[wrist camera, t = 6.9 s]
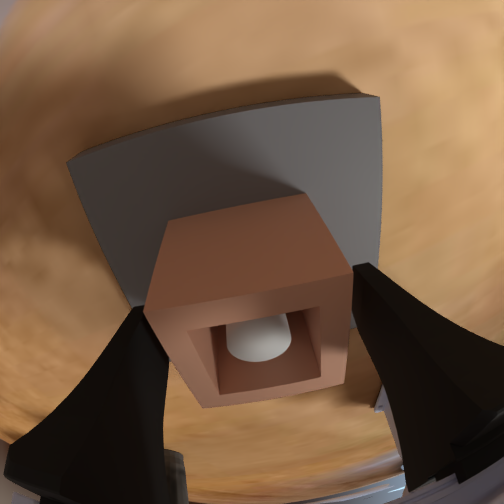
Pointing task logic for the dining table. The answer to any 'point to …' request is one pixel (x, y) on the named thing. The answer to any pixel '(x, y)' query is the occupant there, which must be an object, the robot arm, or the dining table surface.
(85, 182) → the post board
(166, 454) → the beverage cup
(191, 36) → the dining table surface
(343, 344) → the collar
